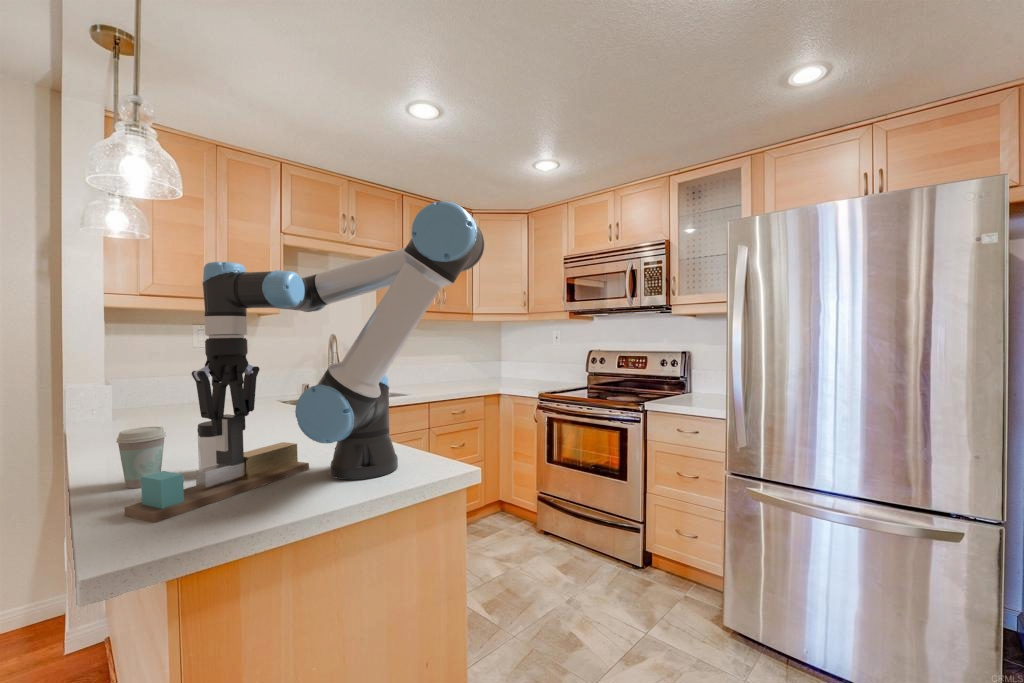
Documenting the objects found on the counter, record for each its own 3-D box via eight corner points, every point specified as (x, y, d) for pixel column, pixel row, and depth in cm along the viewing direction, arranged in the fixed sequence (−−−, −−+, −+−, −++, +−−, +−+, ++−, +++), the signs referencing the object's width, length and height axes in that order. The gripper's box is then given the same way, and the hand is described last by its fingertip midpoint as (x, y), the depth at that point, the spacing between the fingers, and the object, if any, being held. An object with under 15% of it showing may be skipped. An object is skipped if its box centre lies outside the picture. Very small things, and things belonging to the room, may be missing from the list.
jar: (225, 466, 113) (223, 418, 112) (249, 468, 110) (247, 419, 110) (188, 476, 104) (187, 425, 104) (213, 480, 101) (212, 426, 101)
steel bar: (279, 459, 109) (278, 405, 109) (294, 461, 107) (293, 406, 107) (193, 485, 91) (191, 420, 90) (209, 487, 89) (207, 421, 89)
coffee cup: (126, 493, 94) (124, 435, 94) (111, 486, 98) (109, 431, 98) (174, 481, 101) (173, 428, 101) (158, 475, 106) (156, 424, 105)
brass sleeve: (283, 461, 110) (282, 442, 110) (297, 463, 108) (297, 443, 108) (233, 477, 98) (232, 455, 98) (248, 479, 96) (247, 457, 96)
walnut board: (282, 465, 112) (282, 459, 112) (309, 469, 108) (308, 462, 108) (124, 515, 82) (124, 507, 82) (154, 522, 78) (154, 514, 78)
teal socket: (164, 497, 86) (163, 470, 86) (183, 501, 84) (183, 474, 84) (142, 504, 83) (141, 476, 83) (161, 508, 81) (160, 480, 80)
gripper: (248, 337, 103) (251, 439, 104) (175, 338, 89) (178, 456, 89) (272, 336, 100) (274, 441, 101) (199, 337, 86) (203, 460, 86)
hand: (229, 448), depth 95 cm, fingers closed on steel bar, 2 cm apart
